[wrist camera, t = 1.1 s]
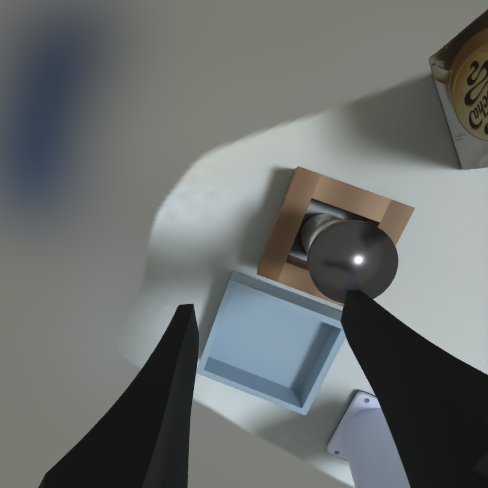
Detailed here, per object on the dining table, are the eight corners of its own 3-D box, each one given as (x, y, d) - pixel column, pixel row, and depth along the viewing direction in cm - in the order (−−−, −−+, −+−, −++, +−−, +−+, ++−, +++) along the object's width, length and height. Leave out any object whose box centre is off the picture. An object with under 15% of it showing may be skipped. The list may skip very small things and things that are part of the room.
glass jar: (361, 219, 23) (414, 239, 14) (338, 269, 24) (374, 315, 15) (308, 200, 23) (329, 209, 14) (288, 251, 24) (296, 286, 15)
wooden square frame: (396, 205, 22) (415, 208, 19) (350, 297, 24) (361, 313, 21) (295, 169, 22) (298, 166, 19) (258, 263, 24) (256, 274, 22)
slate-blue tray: (343, 311, 24) (351, 325, 22) (302, 395, 27) (305, 415, 24) (233, 270, 25) (229, 279, 22) (202, 356, 27) (195, 372, 25)
